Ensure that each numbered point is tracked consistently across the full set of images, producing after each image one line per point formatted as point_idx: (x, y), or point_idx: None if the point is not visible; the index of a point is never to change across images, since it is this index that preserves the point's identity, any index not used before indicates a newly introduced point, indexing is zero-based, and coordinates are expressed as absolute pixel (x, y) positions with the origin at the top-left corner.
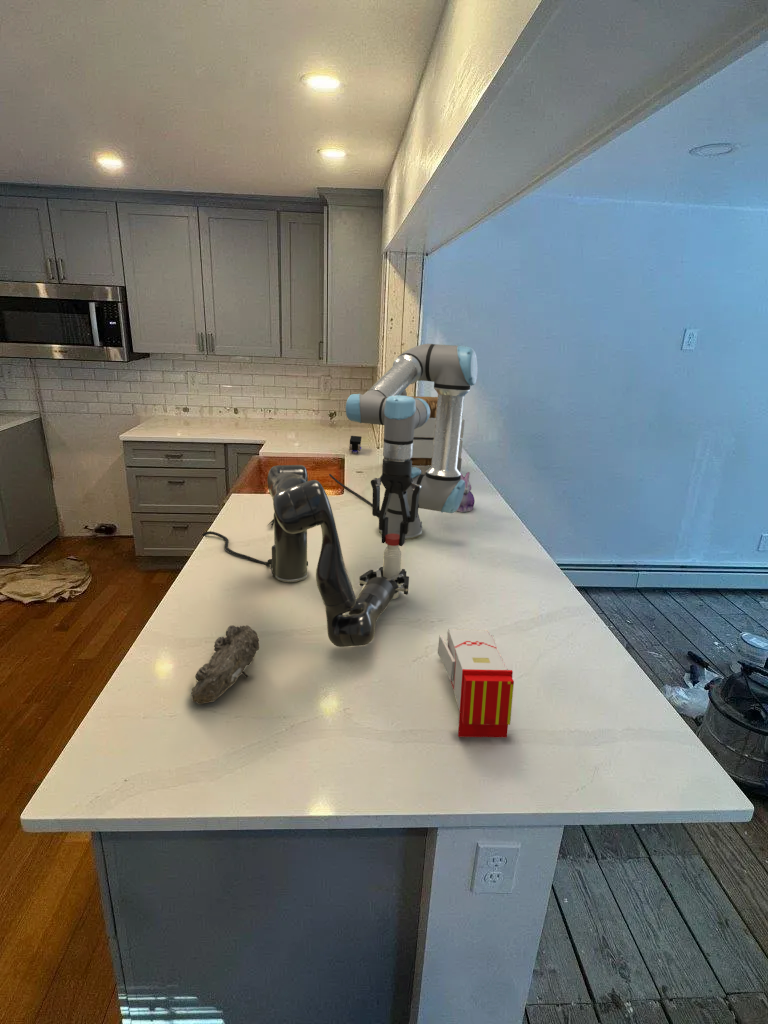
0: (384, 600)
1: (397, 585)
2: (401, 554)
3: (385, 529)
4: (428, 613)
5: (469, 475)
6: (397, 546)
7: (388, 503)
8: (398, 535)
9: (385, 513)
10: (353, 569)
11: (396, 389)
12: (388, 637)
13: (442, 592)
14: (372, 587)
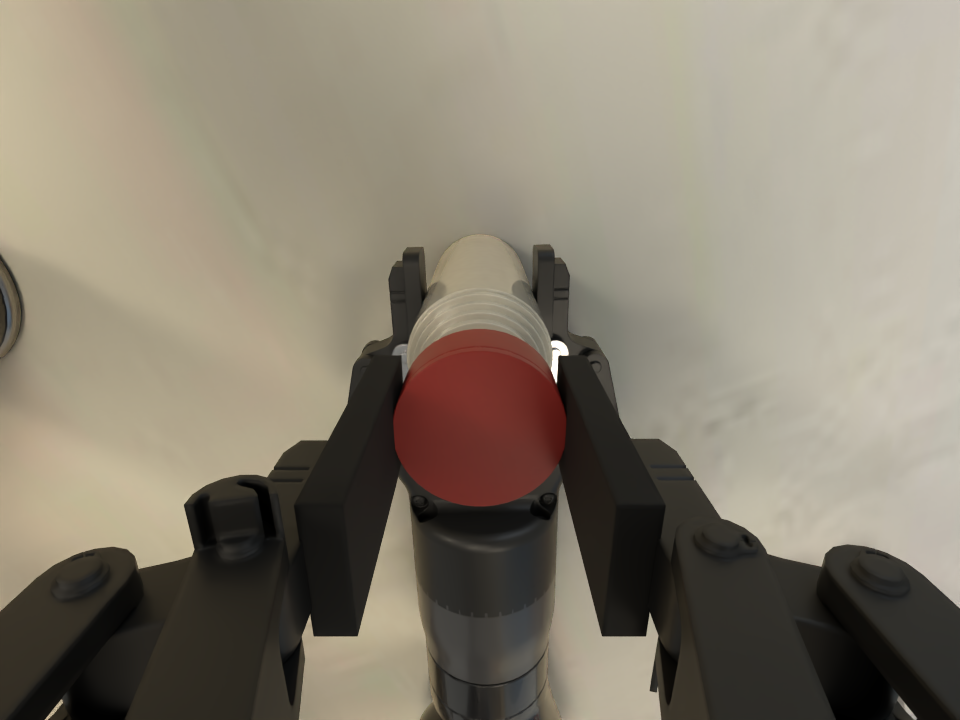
0: (550, 624)
1: None
2: (551, 344)
3: (383, 508)
4: (689, 372)
5: None
6: None
7: None
8: (523, 388)
9: (275, 597)
10: (159, 56)
11: None
12: (572, 571)
13: (738, 135)
14: (485, 651)
